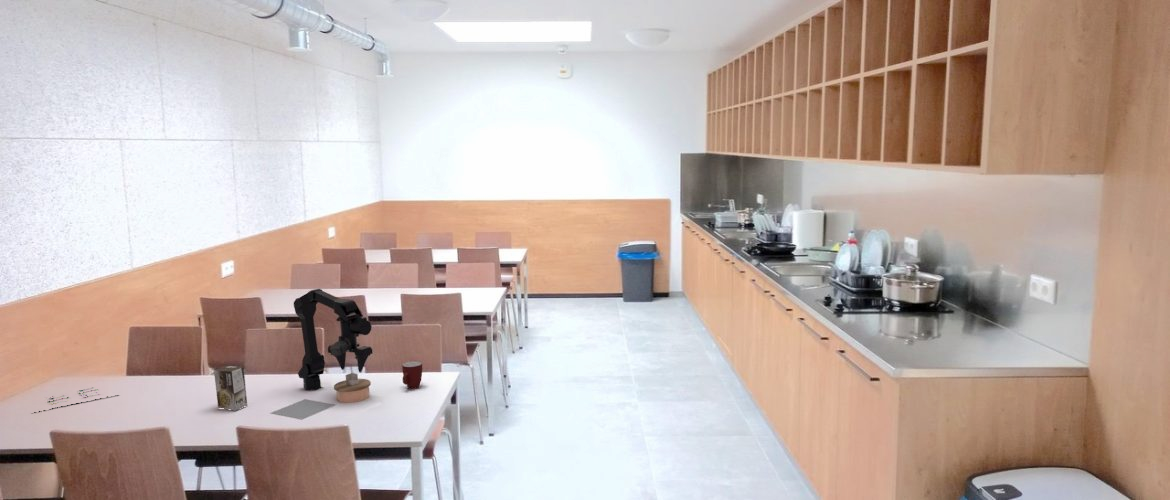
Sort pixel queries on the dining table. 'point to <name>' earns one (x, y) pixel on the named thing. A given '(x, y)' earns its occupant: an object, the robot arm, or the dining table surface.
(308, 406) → the mat
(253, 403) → the dining table surface
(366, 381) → the lid
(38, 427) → the dining table surface
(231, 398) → the coffee box
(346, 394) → the bowl
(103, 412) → the dining table surface
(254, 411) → the dining table surface
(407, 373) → the mug
